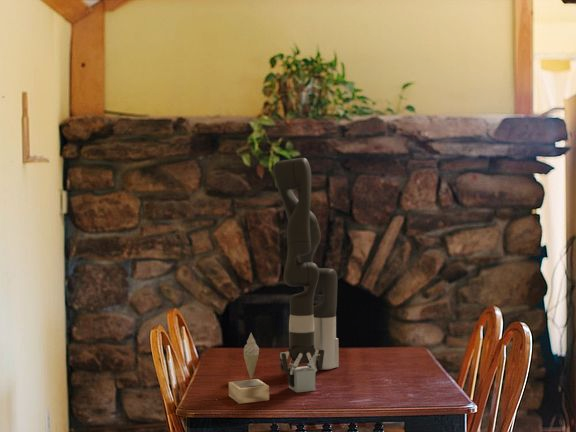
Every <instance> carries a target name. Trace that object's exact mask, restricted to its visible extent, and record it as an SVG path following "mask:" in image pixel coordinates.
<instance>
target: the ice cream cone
mask: <svg viewBox="0 0 576 432" xmlns="http://www.w3.org/2000/svg"><path fill="white" fill-rule="evenodd" d="M259 352H260V347H259V346H258V345H257V343H256V340H255V338H254V336H253V334H252V332H250V334H249V336H248V339H247V340H246V344H245V345H244V348H243V353H242V356H243V357H244V362H245V365H246V368H247V369H246V370H247V372H248V375H249V378H250V379H249V380H253V377H254V375H255V370H256V367H257V363H258V358H259V355H260V354H259Z"/></svg>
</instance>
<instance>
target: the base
mask: <svg viewBox="0 0 576 432" xmlns="http://www.w3.org/2000/svg"><path fill="white" fill-rule="evenodd" d="M228 396H229V397H230V398H231V399H233V400H234V401H235V402H236V403H237V404H239V405H240V404H247V403H256V402H263V401H270V386H269V385H268V384H266V383H265V382H263V381H262V380H261V379H259V378H254V379H252V380H250V379H245V380H236V381H235V380H234V381H228Z"/></svg>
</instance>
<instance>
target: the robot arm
mask: <svg viewBox="0 0 576 432" xmlns="http://www.w3.org/2000/svg"><path fill="white" fill-rule="evenodd" d="M311 169H312V168H311V165H310V163H309V160H308V159H307V158H305V157H297V158H291V159H285V160H284V159H283V160H279V161H276V162H275V163H274V165H273V169H272V170H273V177H274V181H275V184H276V187H277V190H278V192H279V195H280V199H281V202H282V204H283V206H284V210H285V213H286V217H287V221H288V222H287V226H286V238H287V239H286V240H287V241H286V242H287V254H286V255H287V256H286V262H285V265H284V270H283V280H284V283H285V284H286V285H287V287H288V286H289V287H303V288H304V290H303V291H301V292H299V293H295V294H293V295H292V294H291V296H290V298H289V321H288V340H289V341H288V342H289V343H288V344H289V345H288V346H289V348H288V349H287V350H288V351H283V352H282V351H280V352H279V354H278V355H279V363H280V370H281V371H282V372H283V373H285V374H287V384H288V386H289V385H290V386H291V387H294V371H295V369H296V368H297V367H299V365H301V364H306V365H307V366H308V367H309V368H312V369H314V370H315V383H316V382H317V371H319V370H332V369H334V368H339V367H340V366H339V354H340V353H339V338H337V307H338V306H337V305H338V303H337V302H338V274H337V271H336V270H335V269H333V268H329V267H327V268H326V267H321V268H320V267H318V265H317V264H316V263H314V261H313V258H314V256H315V253H316V251H317V249H318V248H319V245H320V243H321V238H322V235H321V234H322V233H321V230H320V226H319V222H318V219H317V217H316V215H315V214H314V212H312V210H311V201H312V170H311ZM298 189H299V191H300V193H299V197H298V198H297V197H296V195H295V193H294V191H293V190H298ZM297 258H298V262H296V261H297ZM315 296H318V297H320V296H321V297H323V301H321V302H320V303H318V304H315V305H314V298H315ZM289 357H290V361H289V362H288V358H289ZM288 363H289V365H288Z"/></svg>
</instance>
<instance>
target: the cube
mask: <svg viewBox="0 0 576 432" xmlns="http://www.w3.org/2000/svg"><path fill="white" fill-rule="evenodd" d="M288 388H289V389H290V390H292V391H293V392H296V393H304V392H311V391H313V392H314V391H316V382H315V370H314V369H312V368H309V366H308V365H307V366H306V365H305V366H304V365H303V366H297V368H296V369H295V371H294V387H291V386H290V385H289V384H288Z"/></svg>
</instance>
